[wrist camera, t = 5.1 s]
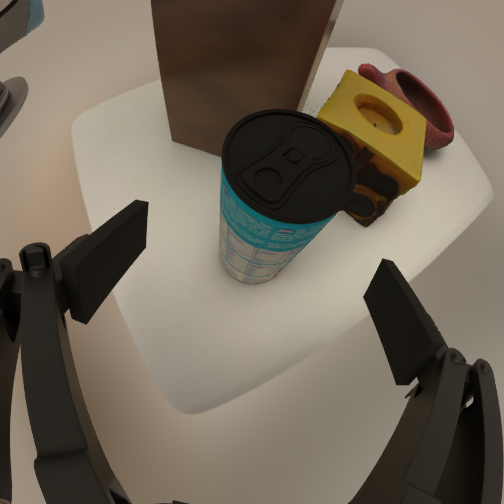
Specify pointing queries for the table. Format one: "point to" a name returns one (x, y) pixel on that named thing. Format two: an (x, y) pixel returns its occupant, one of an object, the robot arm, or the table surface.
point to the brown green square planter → (236, 60)
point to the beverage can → (278, 189)
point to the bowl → (415, 102)
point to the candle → (376, 143)
